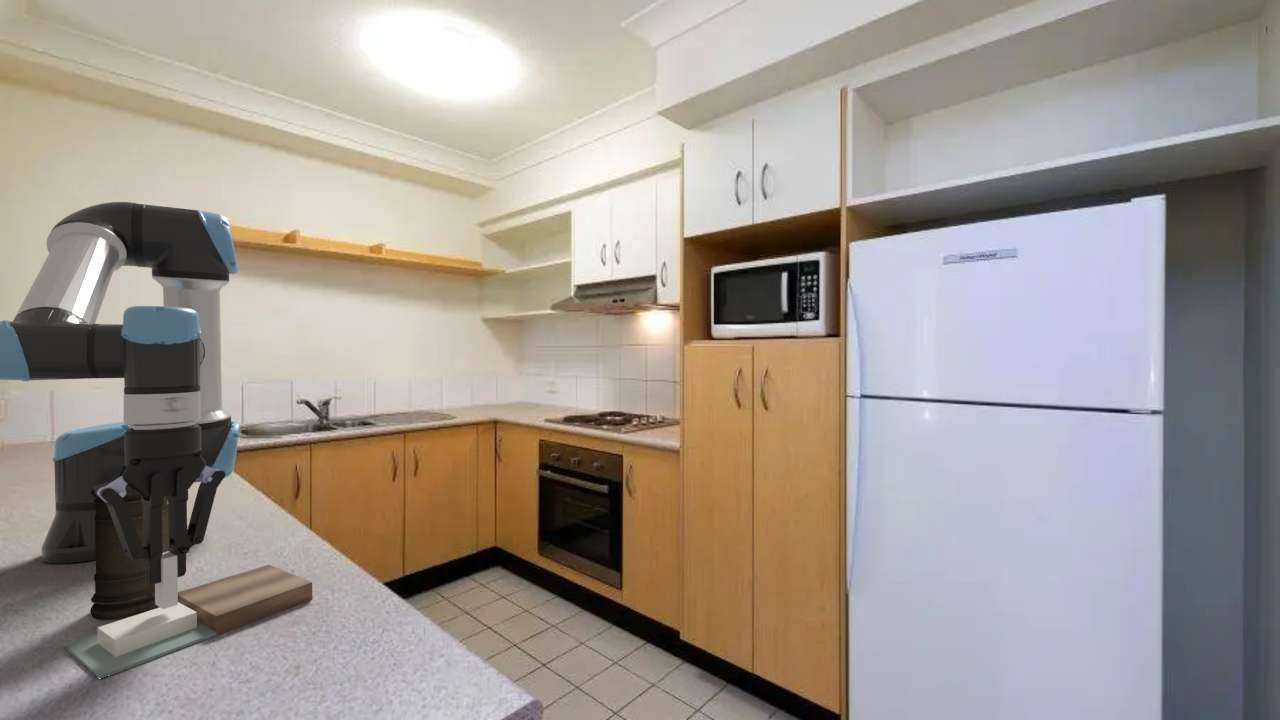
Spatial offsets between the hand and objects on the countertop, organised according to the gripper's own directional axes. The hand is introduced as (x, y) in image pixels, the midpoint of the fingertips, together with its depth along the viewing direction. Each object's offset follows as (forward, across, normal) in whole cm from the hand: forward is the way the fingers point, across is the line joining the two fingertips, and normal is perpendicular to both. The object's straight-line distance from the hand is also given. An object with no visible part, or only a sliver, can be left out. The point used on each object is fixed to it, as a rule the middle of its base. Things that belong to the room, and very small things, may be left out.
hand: (166, 604), depth 70 cm
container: (+4, +1, +14) cm, 14 cm away
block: (+3, -2, 0) cm, 4 cm away
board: (+4, +9, 0) cm, 10 cm away
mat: (+4, -2, 0) cm, 4 cm away
